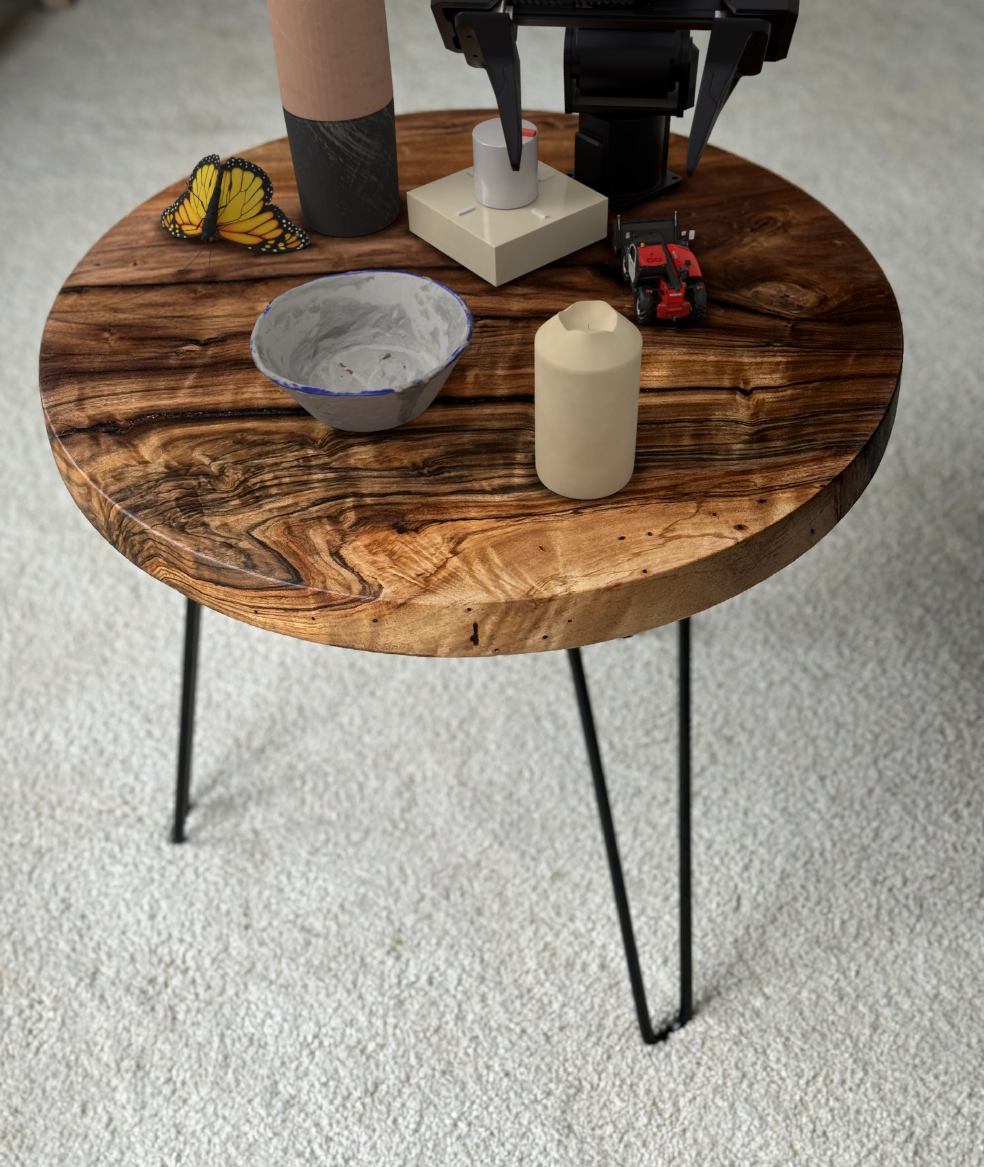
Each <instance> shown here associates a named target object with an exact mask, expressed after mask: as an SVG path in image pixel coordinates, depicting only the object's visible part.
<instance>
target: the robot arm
mask: <svg viewBox="0 0 984 1167" xmlns="http://www.w3.org/2000/svg"><path fill="white" fill-rule="evenodd" d="M800 1H801V0H430V3H429V4H430V5H429V7H430V10H431V13H432V16H433V18H434V21H435V24H436V26H437V29H438V32H439V35H440V38H441V39H442V43H443V46H444V48H445V50H448V51H449V52H453V53H454V54H463V56H464V59H465V62H466V64H467V65H468V66H469V67H471V68H475V69H484V70H485V72H486V75H487V77H488V80H489V82H490V85H491V88H492V91H493V94H494V97H495V100H496V106H497V111H498V114H499V118H500V119H501V124H502V128H503V133H504V138H505V142H506V147H507V151H508V156H509V160H510V165H511V168H512V171H519V170H520V164H521V156H522V119H523V115H522V114H523V111H522V110H523V109H522V77H521V76H522V75H521V72H522V71H521V58H520V54H519V50H518V45H517V41H518V32H519V31H518V30H519V27H543V28H546V27H550V28H565V29H564V39H563V53H562V54H563V55H562V56H563V58H562V69H563V71H562V72H563V100H564V103H563V104H564V105H563V106H564V115H573V114H578V126H577V127H578V129H577V131H575V133H574V152H573V153H574V156H573V158H574V159H573V169H572V170H570V171H568V172H565V173H564V174H565V175H567V176H569V177H571V178H572V179H574V180H576V181H578V182H580V183H582V184H583V185H585V186H587V187H589V188H591V189H593V190H595V191H596V192H598V193H600V194H602V195H604V196H606V197H607V198H608V208H610V209H612V210H614V211H617V212H622V211H623V212H624V211H626V210H628V209H630V208H632V207H634V206H638V205H639V204H641V203H644V202H646V201H648V200H651V199H653V198H655V197H657V196H659V195H662V194H664V193H666V192H669V191H670V190H673V189H675V188H678V187H680V186H681V185H682V180H683V178H682V176H680V175H678V174H677V173H675V172H673V171H670V170H668V164H669V163H668V161H669V146H670V134H671V122H672V121H671V120H672V117H675V118H678V119H684V116H685V111H688V110H689V109H692V108H694V107H695V108H694V112H693V117H692V122H691V127H690V131H689V137H688V142H687V150H686V161H685V172H684V173H685V174H684V177H685V179H693V177H694V175H695V174H696V171H697V168H698V165H699V163H700V162H701V159H702V157H703V154H704V151H705V150H706V147H707V145H708V142H709V139H710V137H711V134H712V133H713V129H714V128H715V125H716V123H717V121H718V118H719V116H720V114H721V113H722V111H723V109H724V107H725V106H726V104H727V102H728V100H729V99H730V97H731V95H732V94H733V92H734V90H735V89H736V87H737V85H738V84H739V82H740V81H741V79H742V78H743V77H754V76H758V75H760V74H761V73H762V72H763V71H762V70H763V66H764V63H776V62H779V61H782V60H785V59H787V58H788V53H789V51H790V47H791V44H792V39H793V37H794V33H795V30H796V25H797V22H798V18H799V13H800V3H801V2H800ZM691 31H705V32H706V31H709V32H710V33H709V34H710V35H709V38H708V39H709V40H708V45H707V50H706V55H705V60H704V65H703V70H702V75H701V79H700V84H699V88H698V93H697V98H696V90H697V81H698V80H697V79H698V69H699V59H700V49H699V48H698V46H697V45H696V44H695V43H694V41H693V40H694V37H693V36H691ZM695 102H696V103H695Z"/></svg>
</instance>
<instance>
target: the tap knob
mask: <svg viewBox="0 0 984 1167" xmlns="http://www.w3.org/2000/svg"><path fill="white" fill-rule="evenodd" d="M471 139H472V140H471V141H472V142H471V143H472V162H473V163H472V166H474V189H475V197H476V199H477V200H478V201H479V202H480V203H481V204H483V205H485V206H487V207H491V208H496V209H514V208H520V207H523V206H526V205H528V204H530V203H532V202H533V201H534V200H535V199H536V198H537V196H538V160H539V130H538V128H537V126H536V125H535V124H534V123H532V122H531V121H529V120H526V119H524V118H522V156H521V164H520V170H519V171H512V168H511V165H510V160H509V156H508V151H507V147H506V142H505V138H504V133H503V128H502V124H501V119H500V117H496V118H490V119H486V120H484V121H482V122H479V123H478V124H476V125H475V127H474V128H472V132H471Z"/></svg>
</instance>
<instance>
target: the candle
mask: <svg viewBox="0 0 984 1167" xmlns="http://www.w3.org/2000/svg"><path fill="white" fill-rule="evenodd" d="M643 342H644V341H643V336H642V333H641V331H640V330H639V329H638V328H637V326H636V325H635V324H634V323H633V322H632V321H630V320H629V319H628V318H627V317H625V316H624V315H623V314H621V313H620V312H619V311H617V310H616V309H614V307H612V306H611V305H610V304H609V303H608V302H606V301H604V300H579V301H576V302H574V303H572V304H571V305H570V306H568V307H567V308H565V309H564V310H561V311H558V313H557V314H555V315H553V316H552V317H550V319H548V320H546V321H545V322H544V323H543V324H542V325H541V326H540V327H538V329H537V331H536V333H535V336H534V438H535V439H534V447H535V448H534V453H535V470H536V474H537V476H538V478H539V480H540V482H541V483H542V484H543V485H544V486H545V487H546V488H547V489H549V490H550V491H552V492H553V493H555V494H558V495H560V496H563V497H566V498H570V499H576V500H596V499H601V498H605V497H609V496H611V495H613V494H615V493H618V492H619V491H620V490H622V489H623V488H624V487H625V486H627V485H628V483H629V482H630V481H631V478H632V476H633V472H634V468H635V458H636V445H637V429H638V415H639V399H640V388H641V386H640V385H641V370H642V357H643Z"/></svg>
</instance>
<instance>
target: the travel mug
mask: <svg viewBox="0 0 984 1167" xmlns="http://www.w3.org/2000/svg"><path fill="white" fill-rule="evenodd" d="M266 3H267V10H268V17H269V24H270V32H271V40H272V46H273V52H274V60H275V66H276V73H277V80H278V88H279V94H280V101H281V105H282V107H281V108H282V113H283V119H284V123H285V124H284V125H285V129H286V134H287V140H288V145H289V150H290V155H291V162H292V168H293V173H294V179H295V183H296V189H297V194H298V200H299V205H300V211H301V213H302V218H303V221H304V223H305V224H306V225H307V226H308V228H310V229H311V230H313V231H315V232H316V233H319V234H322V235H325V236H330V237H335V238H336V237H339V238H354V237H361V236H366V235H370V234H373V233H376V232H379V231H382V230H384V229H385V228H388V227H389V226H390V225H392V224H393V223H394V222H395V221H396V219H397V218H398V216H399V214H400V184H399V182H400V181H399V167H398V166H399V164H398V149H397V148H398V147H397V131H396V130H397V129H396V111H395V96H394V84H393V73H392V65H391V64H392V62H391V54H390V42H389V41H390V40H389V32H388V31H389V30H388V24H387V23H388V21H387V12H386V2H385V0H266Z"/></svg>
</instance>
